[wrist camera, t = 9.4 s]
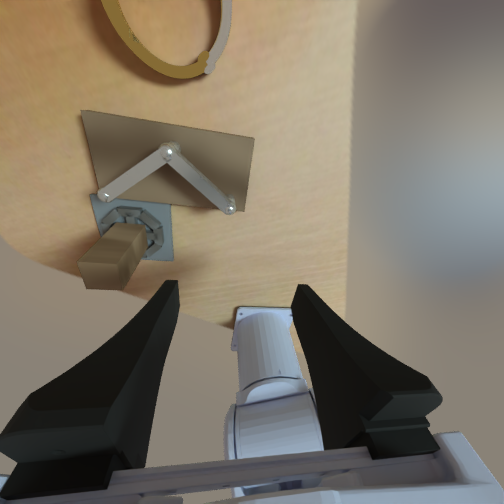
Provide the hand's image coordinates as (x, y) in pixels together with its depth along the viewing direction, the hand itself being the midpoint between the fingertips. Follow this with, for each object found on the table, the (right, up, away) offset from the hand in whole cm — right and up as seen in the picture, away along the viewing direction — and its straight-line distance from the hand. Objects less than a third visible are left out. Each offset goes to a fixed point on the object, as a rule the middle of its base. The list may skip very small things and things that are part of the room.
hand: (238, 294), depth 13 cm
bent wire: (-5, +10, +5) cm, 12 cm away
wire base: (-5, +10, +5) cm, 12 cm away
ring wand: (-10, +5, +7) cm, 14 cm away
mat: (-10, +5, +8) cm, 14 cm away
